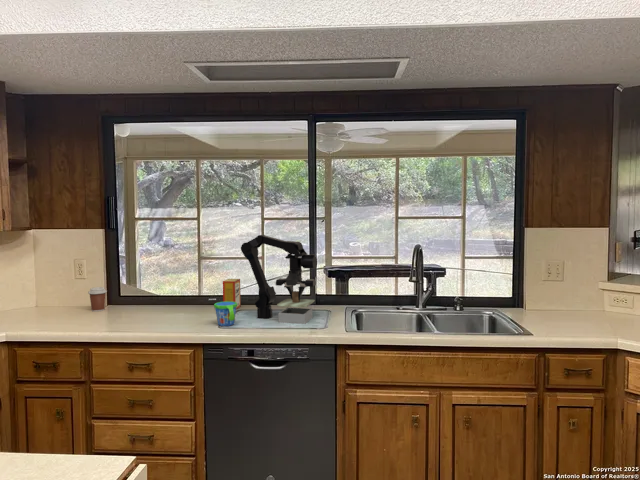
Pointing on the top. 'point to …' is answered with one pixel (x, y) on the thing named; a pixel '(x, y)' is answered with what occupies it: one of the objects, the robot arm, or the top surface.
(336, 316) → the top surface
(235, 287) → the baking soda box
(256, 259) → the robot arm
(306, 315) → the bin
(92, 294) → the coffee cup
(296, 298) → the lid
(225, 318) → the snack cup
